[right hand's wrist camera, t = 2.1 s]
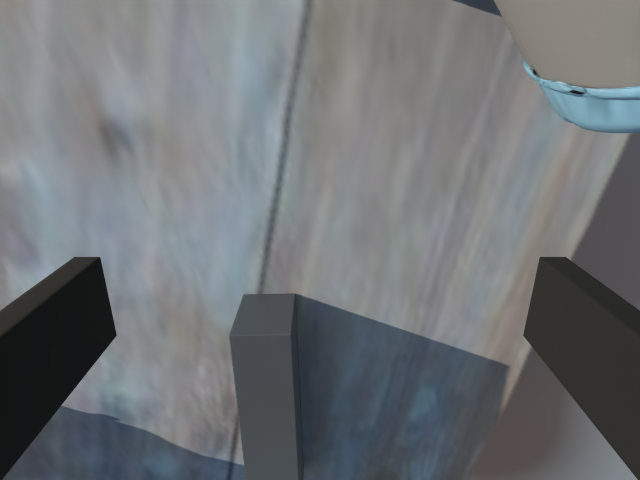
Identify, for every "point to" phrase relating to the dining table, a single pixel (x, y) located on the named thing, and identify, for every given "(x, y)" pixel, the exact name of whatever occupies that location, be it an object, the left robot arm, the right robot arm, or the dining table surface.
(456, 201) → the dining table surface
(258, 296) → the bar
